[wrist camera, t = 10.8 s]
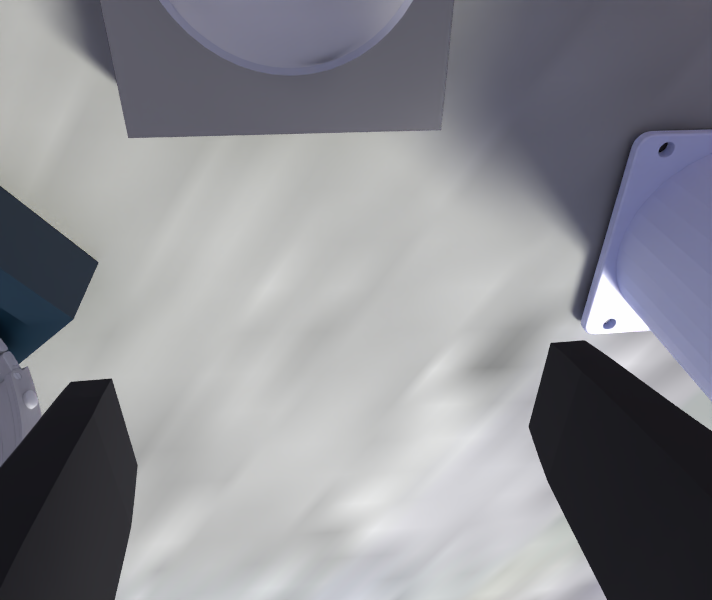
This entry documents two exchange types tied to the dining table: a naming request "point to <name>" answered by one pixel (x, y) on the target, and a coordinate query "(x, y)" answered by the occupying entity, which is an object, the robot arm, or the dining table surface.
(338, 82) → the fuse holder
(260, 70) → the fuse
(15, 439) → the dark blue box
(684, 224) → the robot arm
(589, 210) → the dining table surface
